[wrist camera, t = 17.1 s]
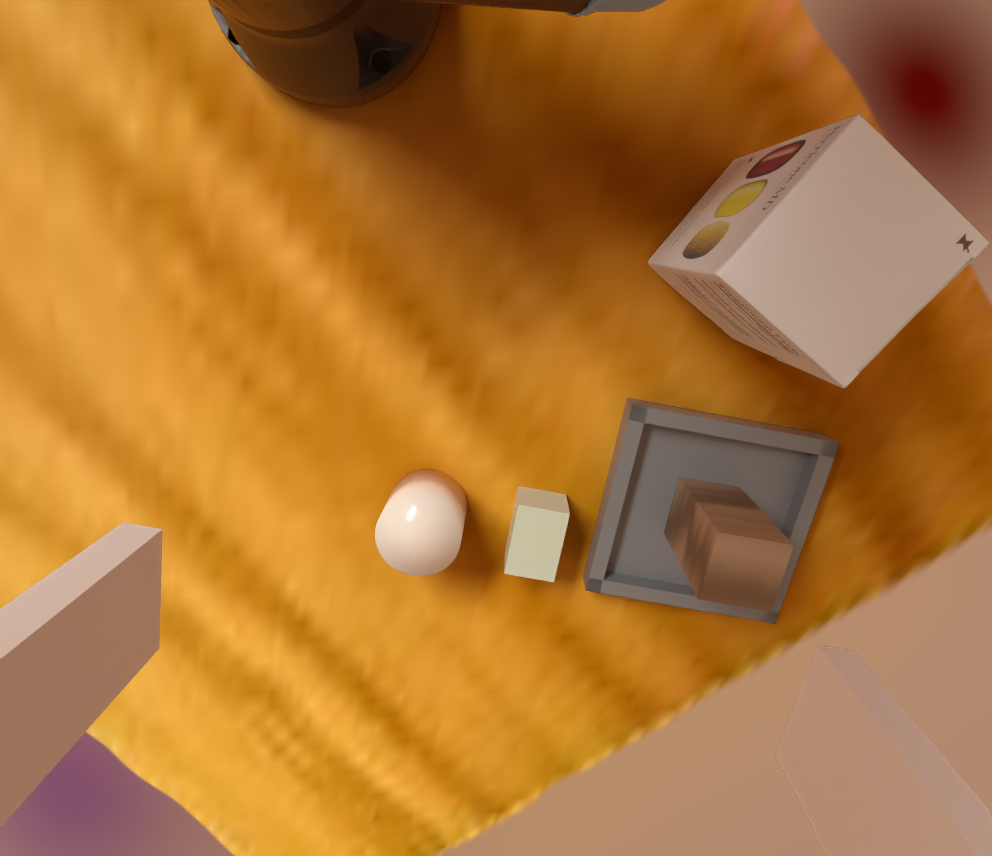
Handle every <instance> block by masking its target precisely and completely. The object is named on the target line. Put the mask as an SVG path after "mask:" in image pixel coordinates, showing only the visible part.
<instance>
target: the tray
mask: <svg viewBox="0 0 992 856" xmlns="http://www.w3.org/2000/svg"><path fill="white" fill-rule="evenodd" d="M839 445H840V443H839V442H837V441H836V440H834V439H833V438H831V437H829V436H828V435H826V434H820V433H815V432H809V431H804V430H799V429H793V428H788V427H782V426H777V425H771V424H766V423H761V422H755V421H750V420H744V419H739V418H733V417H728V416H722V415H717V414H712V413H706V412H701V411H695V410H690V409H684V408H679V407H673V406H668V405H663V404H657V403H652V402H646V401H641V400H635V399H630V398H627V402H626V406H625V410H624V414H623V418H622V422H621V426H620V430H619V434H618V438H617V442H616V446H615V450H614V454H613V458H612V462H611V466H610V470H609V474H608V478H607V482H606V486H605V490H604V494H603V498H602V502H601V506H600V510H599V514H598V518H597V522H596V526H595V530H594V534H593V538H592V542H591V546H590V550H589V555H588V559H587V563H586V567H585V571H584V575H583V579H584V584H585V589H586V590H587V591H592V592H598V593H604V594H609V595H615V596H621V597H626V598H632V599H638V600H643V601H649V602H655V603H660V604H666V605H672V606H677V607H683V608H689V609H694V610H700V611H706V612H711V613H717V614H723V615H728V616H734V617H740V618H745V619H751V620H757V621H762V622H768V623H774V624H775V623H776V620H777V617H778V615H779V612H780V609H781V606H782V604H783V601H784V598H785V595H786V592H787V590H788V587H789V584H790V581H791V578H792V576H793V573H794V570H795V567H796V564H797V562H798V559H799V556H800V553H801V551H802V548H803V545H804V542H805V539H806V537H807V534H808V531H809V528H810V525H811V523H812V520H813V517H814V514H815V511H816V509H817V506H818V503H819V500H820V498H821V495H822V492H823V489H824V486H825V484H826V481H827V478H828V475H829V472H830V470H831V467H832V464H833V461H834V459H835V456H836V453H837V450H838V447H839ZM679 477H683V478H689V479H694V480H700V481H706V482H712V483H718V484H723V485H729V486H735V487H740V488H741V489H742V490H743V491H744V492H745V493H746V494H747V495H748V496H749V498H750V499H751V500H752V501H753V502H754V503H755V504H756V505H757V506H758V507H759V508H760V509H761V510H762V511H763V513H764V514H765V515H766V516H767V517H768V518H769V519H770V520H771V521H772V522H773V523H774V524H775V525H776V527H777V528H778V529H779V530H780V531H781V532H782V533H783V534H784V535H785V536H786V537H787V538H788V539H789V540H790V542H791V543H792V544H793V545H794V547H793V550H792V552H791V555H790V558H789V561H788V564H787V567H786V570H785V573H784V576H783V579H782V582H781V584H780V587H779V590H778V593H777V596H776V599H775V602H774V605H773V608H772V611H771V612H770V611H764V610H758V609H752V608H746V607H740V606H734V605H729V604H723V603H717V602H711V601H705V600H699V599H698V598H697V596H696V594H695V592H694V590H693V589H692V587H691V585H690V583H689V581H688V579H687V577H686V575H685V573H684V571H683V569H682V567H681V565H680V563H679V562H678V560H677V558H676V556H675V554H674V552H673V550H672V548H671V546H670V544H669V542H668V540H667V538H666V536H665V535H664V530H665V526H666V522H667V519H668V515H669V511H670V508H671V504H672V500H673V497H674V493H675V489H676V486H677V482H678V478H679Z"/></svg>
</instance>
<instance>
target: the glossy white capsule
mask: <svg viewBox="0 0 992 856" xmlns="http://www.w3.org/2000/svg"><path fill="white" fill-rule="evenodd" d="M466 512H467V500H466V496H465V493H464V491H463V489H462V488H461V486H460V485H459V484H458V482H457V481H456V480H454V479H453V478H452V477H451V476H449V475H447V474H446V473H443V472H441V471H437V470H432V469H423V470H417V471H414V472H411V473H409V474H407V475H406V476H404V477H403V478H402V479H401V480H400V481H399V482H398V483H397V485H396V486H395V488H394V490H393V492H392V494H391V496H390V498H389V500H388V502H387V504H386V506H385V508H384V510H383V512H382V514H381V516H380V518H379V520H378V522H377V525H376V529H375V541H376V545H377V548H378V551H379V552H380V554H381V556H382V557H383V559H384V560H385V561H386V562H387V563H388V564H389V565H390V566H391V567H393V568H394V569H396V570H398V571H400V572H402V573H405V574H408V575H413V576H428V575H432V574H435V573H438V572H440V571H442V570H444V569H445V568H447V567H448V566H449V565H450V564H451V563H452V562H453V561H454V559H455V558H456V556H457V554H458V552H459V549H460V545H461V540H462V534H463V529H464V523H465V518H466Z"/></svg>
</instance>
